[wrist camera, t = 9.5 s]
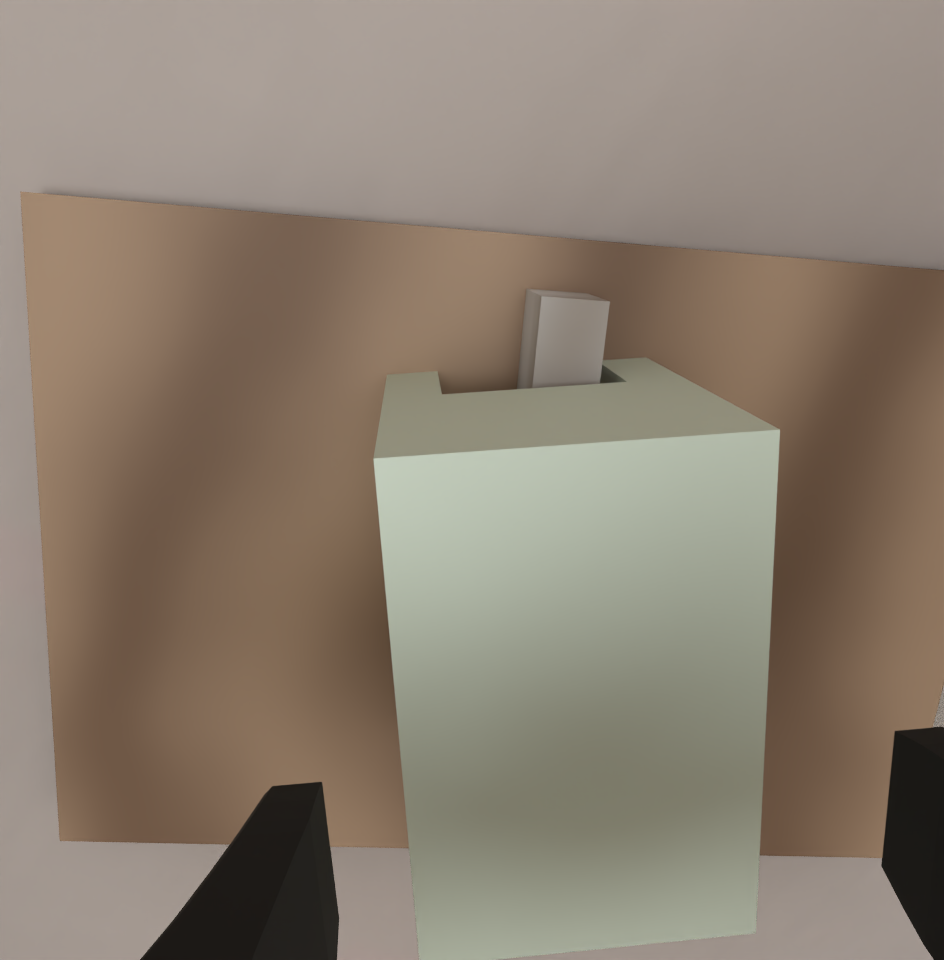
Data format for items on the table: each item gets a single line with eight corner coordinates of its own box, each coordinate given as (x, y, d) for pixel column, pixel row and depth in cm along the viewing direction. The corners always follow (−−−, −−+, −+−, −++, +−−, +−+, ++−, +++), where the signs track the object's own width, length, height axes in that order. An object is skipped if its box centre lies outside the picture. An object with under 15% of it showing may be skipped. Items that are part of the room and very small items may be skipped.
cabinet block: (646, 357, 17) (780, 429, 11) (645, 708, 19) (755, 933, 13) (387, 374, 17) (373, 458, 11) (417, 728, 19) (419, 967, 13)
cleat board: (1015, 276, 18) (1128, 285, 15) (877, 831, 22) (946, 921, 19) (43, 193, 16) (-35, 186, 14) (76, 812, 20) (21, 908, 17)
